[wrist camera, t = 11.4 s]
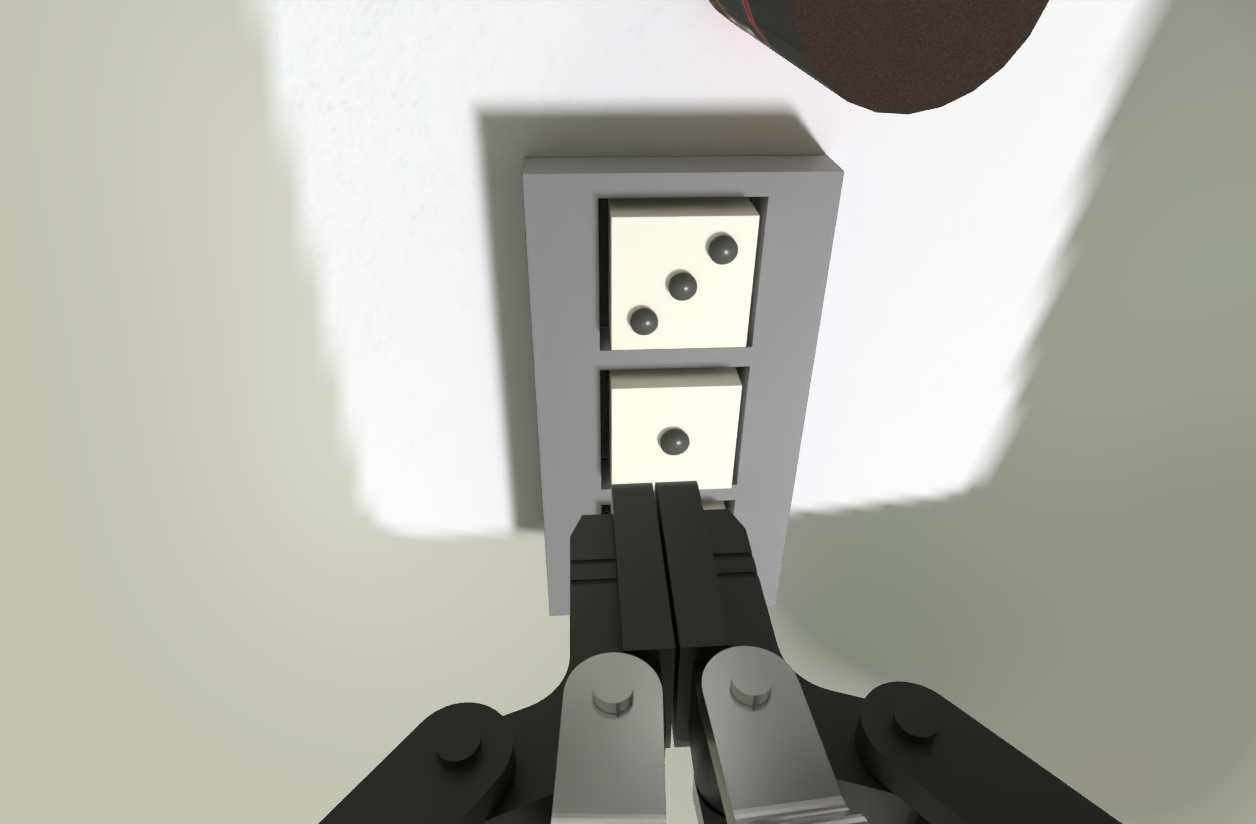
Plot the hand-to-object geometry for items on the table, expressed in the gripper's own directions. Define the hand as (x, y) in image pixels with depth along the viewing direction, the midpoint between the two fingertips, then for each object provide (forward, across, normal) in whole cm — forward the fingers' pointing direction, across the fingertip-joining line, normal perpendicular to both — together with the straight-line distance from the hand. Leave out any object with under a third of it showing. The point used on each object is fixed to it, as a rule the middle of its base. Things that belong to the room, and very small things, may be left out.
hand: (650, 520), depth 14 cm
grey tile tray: (+23, -3, +13) cm, 27 cm away
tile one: (+22, -3, +13) cm, 26 cm away
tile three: (+22, -3, +5) cm, 23 cm away
